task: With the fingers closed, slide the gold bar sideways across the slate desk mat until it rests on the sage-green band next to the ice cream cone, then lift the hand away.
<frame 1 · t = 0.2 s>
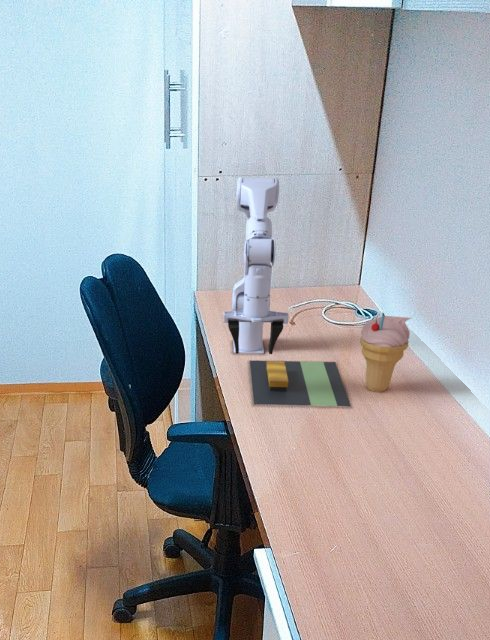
hand: (253, 352, 168), 10 cm above the table, tool pointing down, fingers open, 7 cm apart
gold bar: (276, 381, 178), resting on desk mat
ice cream cone: (376, 388, 176), on the table
desk mat: (296, 383, 178), on the table
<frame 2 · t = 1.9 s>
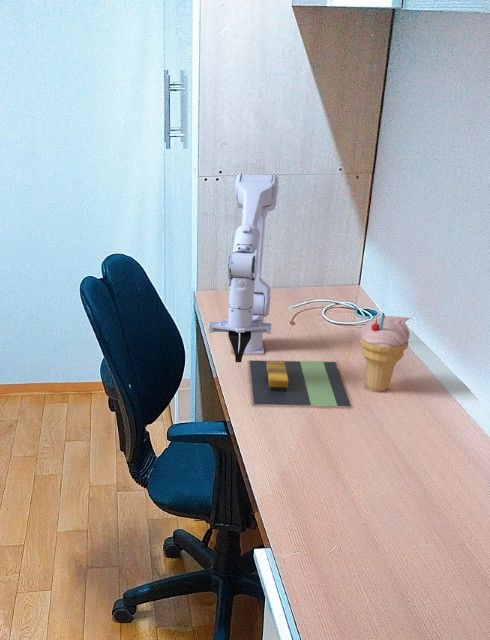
hand: (238, 360, 175), 5 cm above the table, tool pointing down, fingers closed
nothing on the table moved.
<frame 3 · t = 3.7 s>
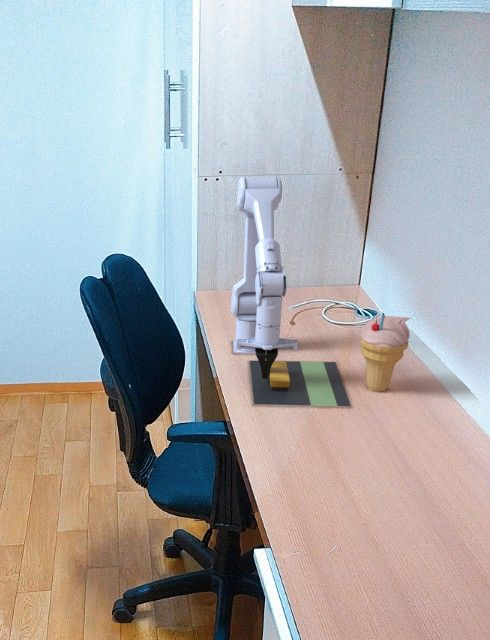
hand: (264, 377, 177), 1 cm above the table, tool pointing down, fingers closed
gold bar: (278, 381, 178), resting on desk mat, touching gripper
everything else where it was.
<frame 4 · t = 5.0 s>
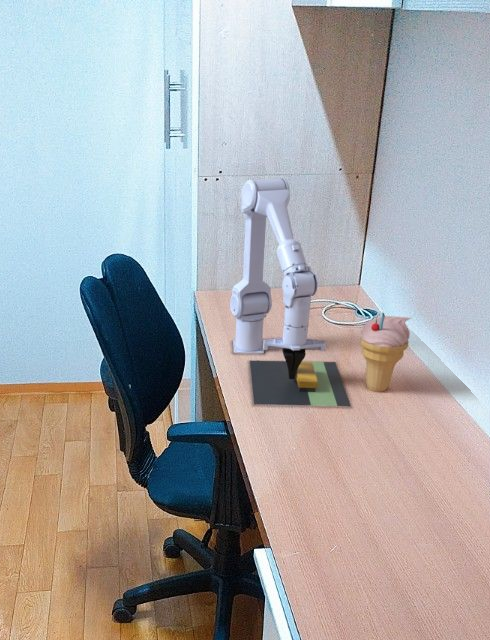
hand: (291, 377, 177), 1 cm above the table, tool pointing down, fingers closed
gold bar: (304, 382, 178), resting on desk mat, touching gripper
everything else where it was.
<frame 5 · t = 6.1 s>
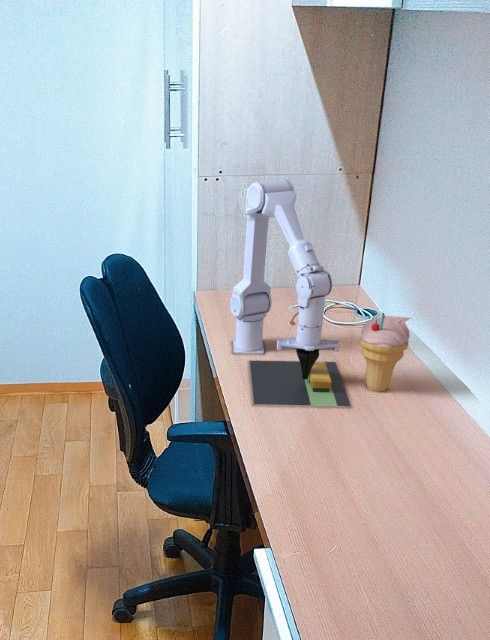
hand: (304, 377, 177), 1 cm above the table, tool pointing down, fingers closed
gold bar: (318, 382, 177), resting on desk mat, touching gripper
everything else where it was.
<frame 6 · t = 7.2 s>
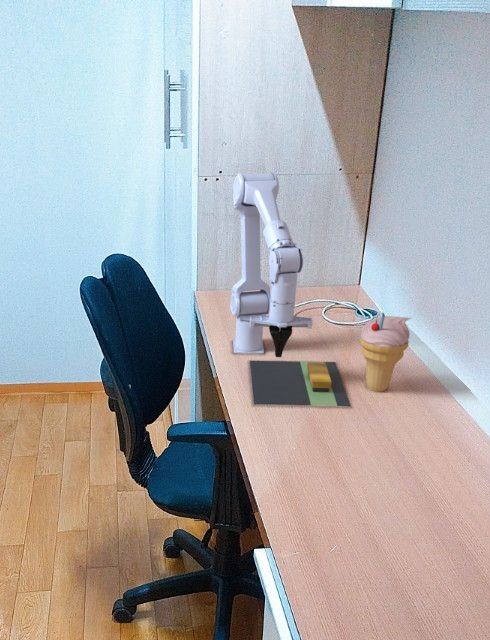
hand: (278, 355, 176), 6 cm above the table, tool pointing down, fingers closed
gold bar: (318, 382, 177), resting on desk mat
everything else where it was.
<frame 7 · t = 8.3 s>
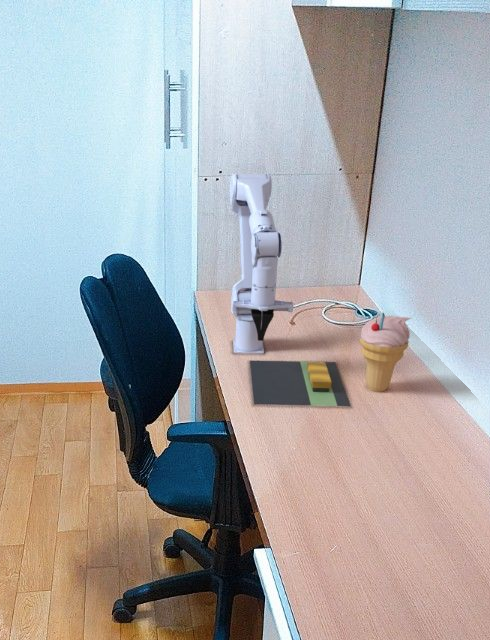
hand: (260, 339, 180), 8 cm above the table, tool pointing down, fingers closed
nothing on the table moved.
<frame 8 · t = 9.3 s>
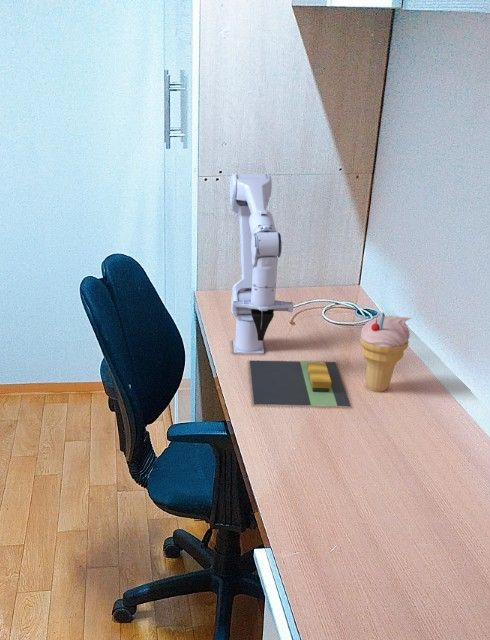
hand: (260, 339, 180), 8 cm above the table, tool pointing down, fingers closed
nothing on the table moved.
at the end: gold bar inside the target area (0.1 cm from its centre), resting on desk mat; gold bar 14.0 cm from the ice cream cone (horizontally); gold bar tilted 0° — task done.
